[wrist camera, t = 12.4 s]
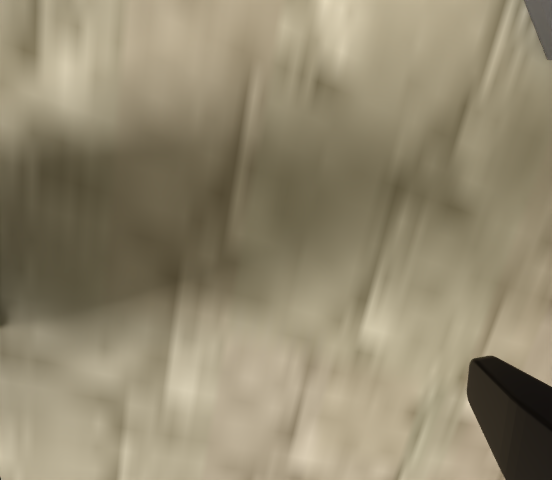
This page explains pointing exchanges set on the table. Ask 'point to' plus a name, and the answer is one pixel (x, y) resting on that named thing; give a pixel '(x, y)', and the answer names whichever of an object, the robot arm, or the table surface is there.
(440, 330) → the table surface
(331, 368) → the table surface
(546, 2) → the rubber mat
